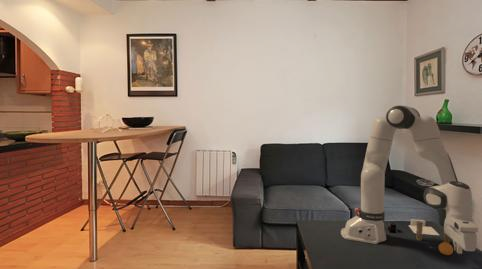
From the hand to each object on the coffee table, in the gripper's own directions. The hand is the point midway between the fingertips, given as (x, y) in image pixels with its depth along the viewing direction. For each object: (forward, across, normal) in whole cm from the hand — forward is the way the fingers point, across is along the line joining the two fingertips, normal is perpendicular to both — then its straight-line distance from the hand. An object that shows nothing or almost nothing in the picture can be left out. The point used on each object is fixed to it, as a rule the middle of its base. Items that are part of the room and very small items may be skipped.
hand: (458, 252), depth 126 cm
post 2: (+6, -25, +6) cm, 27 cm away
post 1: (+6, -26, -7) cm, 27 cm away
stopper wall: (+6, -47, -1) cm, 47 cm away
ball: (+3, -10, -1) cm, 10 cm away
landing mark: (+6, -39, 0) cm, 40 cm away
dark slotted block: (+6, -36, -17) cm, 40 cm away
